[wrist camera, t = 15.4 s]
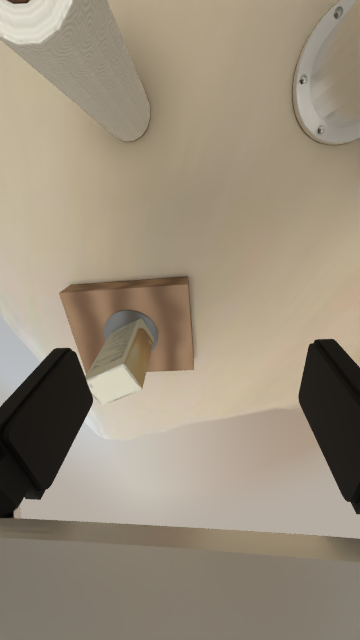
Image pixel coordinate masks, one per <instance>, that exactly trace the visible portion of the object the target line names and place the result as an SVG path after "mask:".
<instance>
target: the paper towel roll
mask: <svg viewBox="0 0 360 640" xmlns="http://www.w3.org/2000/svg"><path fill="white" fill-rule="evenodd" d="M0 39H1V40H2V41H3V42H4V43H5V44H6V45H8V46H9V47H10V48H11V49H12V50H13V51H15V52H16V53H17V54H18V55H19V56H20V57H22V58H23V59H24V60H25V61H26V62H28V63H29V64H30V65H31V66H32V67H33V68H35V69H36V70H37V71H38V72H39V73H40V74H42V75H43V76H44V77H45V78H46V79H48V80H49V81H50V82H51V83H52V84H53V85H55V86H56V87H57V88H58V89H59V90H60V91H62V92H63V93H64V94H65V95H66V96H67V97H69V98H70V99H71V100H72V101H73V102H75V103H76V104H77V105H78V106H79V107H80V108H82V109H83V110H84V111H85V112H86V113H87V114H89V115H90V116H91V117H92V118H93V119H94V120H96V121H97V122H98V123H99V124H100V125H102V126H103V127H104V128H105V129H106V130H107V131H109V132H110V133H111V134H112V135H113V136H114V137H116V138H118V139H120V140H122V141H134V140H136V139H138V138H140V137H141V136H142V135H143V133H144V132H145V131H146V129H147V127H148V124H149V120H150V104H149V101H148V99H147V96H146V93H145V91H144V88H143V86H142V83H141V81H140V79H139V76H138V74H137V72H136V69H135V67H134V64H133V62H132V60H131V57H130V55H129V53H128V50H127V48H126V45H125V43H124V41H123V38H122V36H121V33H120V31H119V29H118V26H117V24H116V22H115V19H114V17H113V14H112V12H111V10H110V7H109V5H108V2H107V0H0Z"/></svg>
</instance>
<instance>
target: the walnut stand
mask: <svg viewBox="0 0 360 640" xmlns="http://www.w3.org/2000/svg"><path fill="white" fill-rule="evenodd" d="M59 295H60V298H61V300H62V303H63V306H64V309H65V312H66V315H67V318H68V321H69V324H70V327H71V330H72V333H73V336H74V339H75V342H76V345H77V348H78V351H79V354H80V357H81V360H82V363H83V366H84V369H85V372H86V374H87V373H88V371H89V369H90V368H91V366H92V364H93V363H94V361H95V359H96V358H97V356H98V354H99V352H100V351H101V349H102V347H103V346H104V344H105V342H106V341H107V339H108V337H109V335H110V334H111V333H112V332H114V331H116V330H118V329H119V328H121V327H123V326H126V325H128V324H130V323H132V322H134V321H136V320H139V319H142V320H143V321H144V322H145V324H146V325H147V327H148V329H149V330H150V332H151V333H152V335H153V337H154V342H153V346H152V350H151V354H150V358H149V362H148V366H147V371H146V372H154V371H178V370H194V353H193V339H192V325H191V311H190V297H189V283H188V277H176V278H162V279H147V280H133V281H119V282H105V283H91V284H77V285H70V286H69V287H67V288H66V289H64V290H63V291H61V292H60V293H59Z"/></svg>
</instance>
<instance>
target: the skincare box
mask: <svg viewBox="0 0 360 640" xmlns="http://www.w3.org/2000/svg"><path fill="white" fill-rule="evenodd" d="M153 342H154V337H153V335H152V333H151V332H150V330H149V329H148V327H147V325H146V324H145V322H144V321H143V320H142V319H139V320H136V321H134V322H132V323H130V324H128V325H126V326H123V327H121V328H119V329H118V330H116V331H114V332H112V333H111V334H110V335H109V337H108V339H107V341H106V342H105V344H104V346H103V347H102V349H101V351H100V352H99V354H98V356H97V358H96V359H95V361H94V363H93V364H92V366H91V368H90V369H89V371H88V373H87V374H86V376H85V378H86V381H87V383H88V386H89V389H90V391H91V394H92V395H93V396H94V397H95V399H96V400H97V401H98V402H99V403H100V404H101V405H105V404H108V403H111V402H114V401H116V400H119V399H121V398H124V397H126V396H128V395H131V394H133V393H135V392H138V391H140V390H142V387H143V383H144V379H145V375H146V371H147V366H148V362H149V358H150V354H151V350H152V346H153Z"/></svg>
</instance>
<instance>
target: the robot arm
mask: <svg viewBox="0 0 360 640" xmlns="http://www.w3.org/2000/svg"><path fill="white" fill-rule="evenodd" d="M334 16H335V17H336V19H335V17H334ZM300 80H301V81H302V85H301V84H300V82H299V81H300ZM293 104H294V110H295V114H296V117H297V119H298V122H299V124H300V126H301V127H302V129H303V130H304V132H305V133H306V134H308V135H309V136H310V137H311V138H312V139H314V140H316V141H318V142H320V143H324V144H328V145H339V144H344V143H348V142H351V141H353V140H356V139H358V138H360V0H340V1H339V2H338V3H336V4H335V5H334V6H333V7H332V8H331V9H330V10H329V11H328V12H327V13H326V14H325V15H324V16H323V18H322V19H321V20H320V21H319V23H318V24H317V26H316V27H315V28H314V30H313V31H312V33H311V35H310V36H309V38H308V40H307V41H306V43H305V45H304V47H303V50H302V52H301V54H300V57H299V59H298V63H297V67H296V70H295V74H294V82H293ZM317 130H319V134H318V133H317ZM92 403H93V397H92V394H91V391H90V389H89V386H88V383H87V381H86V378H85V375H84V373H83V370H82V368H81V365H80V362H79V360H78V357H77V355H76V353H75V352H74V351H72V350H71V349H70V348H56V349H54V350H53V351H52V352H51V353H50V354H49V355H48V356H47V357H46V358H45V359H44V360H43V361H42V362H41V364H40V365H39V366H38V367H37V368H36V369H35V370H34V371H33V372H32V373H31V374H30V375H29V376H28V378H27V379H26V380H25V381H24V382H23V383H22V384H21V385H20V386H19V387H18V388H17V389H16V391H15V392H14V393H13V394H12V395H11V396H10V397H9V398H8V399H7V400H6V401H5V402H4V403H3V405H2V406H1V407H0V640H360V539H355V538H342V537H329V536H317V535H303V534H286V533H269V532H254V531H238V530H237V531H236V530H221V529H220V530H219V529H205V528H187V527H168V526H152V525H151V526H150V525H133V524H116V523H115V524H114V523H97V522H77V521H57V520H38V519H21V512H20V503H21V501H22V500H23V498H24V497H25V498H26V499H38V500H40V499H41V497H42V496H43V494H44V492H45V490H46V489H48V488H49V487H50V486H51V484H52V483H53V481H54V479H55V477H56V475H57V473H58V471H59V469H60V467H61V465H62V463H63V461H64V459H65V457H66V455H67V453H68V451H69V449H70V447H71V445H72V443H73V441H74V439H75V437H76V435H77V433H78V431H79V430H80V428H81V426H82V424H83V422H84V420H85V418H86V416H87V414H88V412H89V410H90V408H91V406H92ZM299 403H300V405H301V407H302V410H303V412H304V414H305V416H306V418H307V420H308V422H309V425H310V427H311V429H312V431H313V433H314V435H315V438H316V440H317V442H318V444H319V446H320V448H321V450H322V453H323V455H324V457H325V459H326V461H327V463H328V466H329V467H330V470H331V472H332V474H333V476H334V478H335V481H336V483H337V485H338V487H339V489H340V491H341V494H342V495H343V497H344V499H345V500H346V501H348V502H351V504H352V506H353V507H354V510H355V512H356V514H360V367H359V366H358V365H357V364H356V363H355V362H354V361H353V360H352V359H351V357H350V356H349V355H348V354H347V353H346V352H345V351H344V350H343V348H342V347H341V346H340V345H339V344H338V343H337V342H336V341H335V340H334V339H318V340H315V341H314V343H313V344H310V345H309V348H308V352H307V357H306V362H305V367H304V372H303V376H302V381H301V386H300V391H299Z"/></svg>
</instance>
